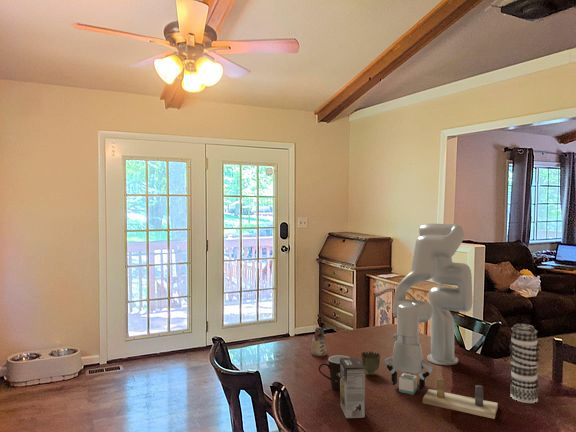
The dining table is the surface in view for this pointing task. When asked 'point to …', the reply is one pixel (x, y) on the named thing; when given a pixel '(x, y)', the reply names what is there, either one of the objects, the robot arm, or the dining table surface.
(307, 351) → the dining table surface
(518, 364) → the decorative candle
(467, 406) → the pin board
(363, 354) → the cup
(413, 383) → the sleeve
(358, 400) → the coffee box
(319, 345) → the figurine
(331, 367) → the coffee mug
